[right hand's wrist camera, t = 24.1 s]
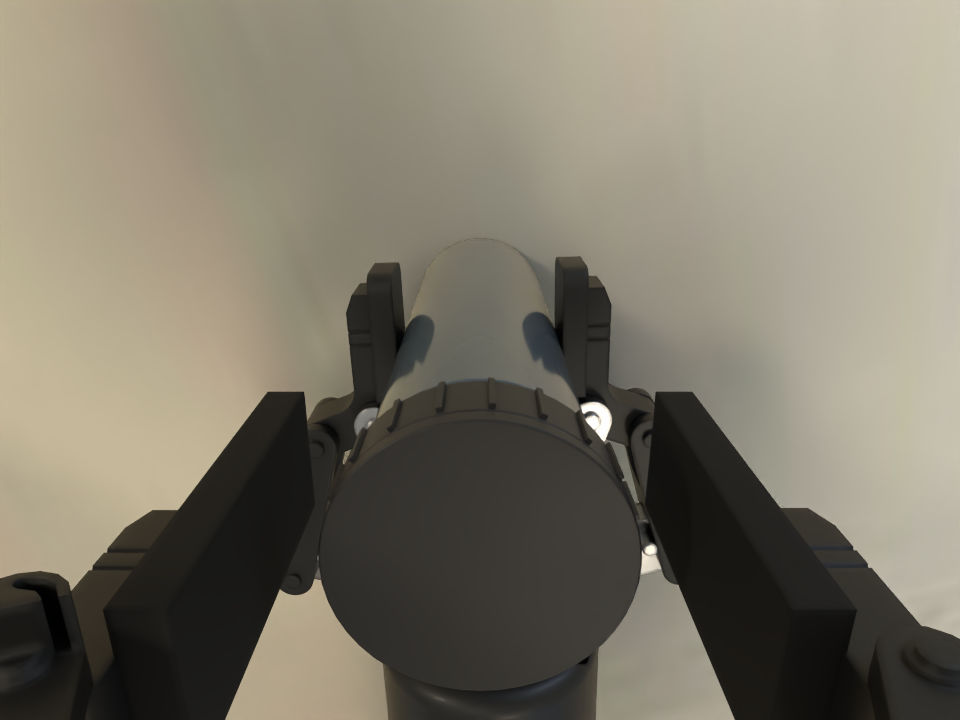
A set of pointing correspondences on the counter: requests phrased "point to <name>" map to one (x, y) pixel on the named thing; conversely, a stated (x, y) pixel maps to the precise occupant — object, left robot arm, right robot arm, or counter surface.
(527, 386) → the jar
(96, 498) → the counter surface
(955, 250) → the counter surface
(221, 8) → the counter surface
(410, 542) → the lid
